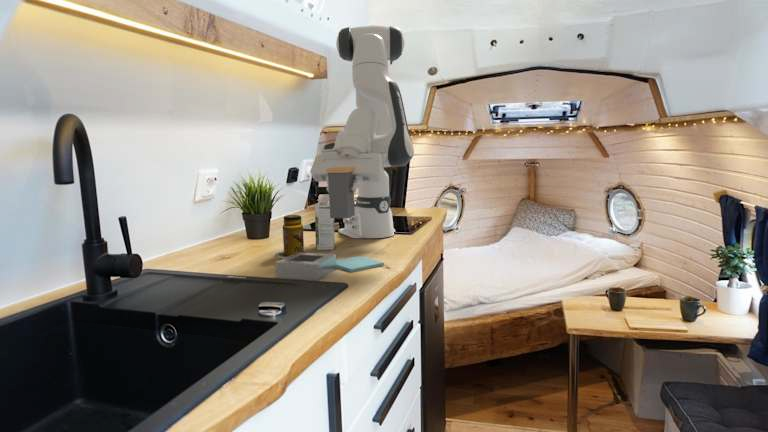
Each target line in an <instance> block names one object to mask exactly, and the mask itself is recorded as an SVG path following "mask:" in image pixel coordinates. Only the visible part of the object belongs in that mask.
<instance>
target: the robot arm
mask: <svg viewBox="0 0 768 432" xmlns="http://www.w3.org/2000/svg"><path fill="white" fill-rule="evenodd" d="M335 41H336V43H335V44H336V51H337V53H338V54H339V55H338V56H339V57H340V59H342V60H344V61H345V62H346V61H348V62H352V65H351V66H352V76H351V77H352V85H353V87H354V89H355V105H356V106H355V107H356V108H355V109H353V110H352V111H351V112H350V114H349V116H348V117H347V120H346V123H345V125H344V127H343V128H341V129H340V130H339V131H338V133H337V135H336V137H335V141H333V142H330V143H324V144H323V145H321V146H320V153H319V154H318V155H317V156H316V157H315V159H314V161H313V162H312V163H313V164H312V165H311V168H310V175H311V177H312V179H313V180H314V182H317V183H318V182H319V183H320V182H326V184H327V185H326V192H327V193H328V194H329V182H328V173H326V169H329V168H335V167H355V168H354V171H352V175H353V184H350V187H349V191H350V193H354V194H356V193H357V194H358V196H357V197H354V202H355V204H354V208H355V216H352V217H350V218H344V228H343V227H342V228H339V229H338V231H337V232H338V233H340V234H342V235H344V236H347V237H349V238H352V239H382V238H389V237H393V236H394V235H395V233H396V229H395V228H394V221H393V212H392V209H391V208H390V206H391V201H392V199H391V196H390V177H389V173H388V172H387V171H386V170H384V169H385V168H390V167H391V168H392V167H395V168H396V167H398V168H399V167H405V166H407V164H409V162H411V160H412V159H413V156H414V153H415V152H414V151H415V150H414V145H413V141H412V137H411V134H410V131H409V127H408V120H407V117H406V112H405V106H404V105H405V104H404V102H403V97H402V93H401V90H400V87H399V85H398V84H397V82H396V81H394V80H392V79H391V77H390V75H389V65H393V62H394V61H397V60H398V59H400V58H401V56H402V55H403V51H404V49H405V37H404V35H403V33H402V30H401V29H400V27H398V26H393V25H390V26H386V25H385V26H384V25H373V24H372V25H365V26H356V27H355V26H354V27H351V26H348V27H344V28H341V29H340V30H339V32H338V35H337V37H336V40H335ZM357 191H358V192H357ZM394 232H395V233H394Z"/></svg>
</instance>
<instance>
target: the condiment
mask: <svg viewBox="0 0 768 432" xmlns="http://www.w3.org/2000/svg"><path fill="white" fill-rule="evenodd" d="M282 235H283V236H282V238H283V239H282V241H283V242H282V243H283V252H275V255H276V256H277V258H278V259H284V258H286V257H288V256H290V255H292V254H294V253H297V252H302V253H305V247H304V246H305V243H304V225H303V224H302V216H301V215H299V214H290V215H289V214H288V215H285V216H283V226H282Z"/></svg>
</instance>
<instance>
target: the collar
mask: <svg viewBox="0 0 768 432" xmlns="http://www.w3.org/2000/svg"><path fill="white" fill-rule="evenodd" d="M336 260H337V254H334V253H318V252H317V253H315V252H304V253H302V252H297V253H294V254H292V255H290V256H288V257H286V258H281V259H280V260H278V261H275V269H276V278H282V279H293V280H294V279H295V280H306V281H307V280H309V281H320V280H321V279H323V278H325V277H326V276H328V275H329V274H331V273H333V272H334V271H336V270H337V267H336Z"/></svg>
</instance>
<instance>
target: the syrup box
mask: <svg viewBox="0 0 768 432" xmlns="http://www.w3.org/2000/svg"><path fill="white" fill-rule="evenodd" d="M314 217H315V218H314V219H315V220H314V221H315V224H314V225H315V228H314V229H315V231H314V232H315V250H316V251H328V250H329V251H331V250H334V249H335V245H336V243H335V242H336V239H335V238H336V237H335V236H336V235H335V233H336V231H335V228H336V227H335V226H336V225H335V218H330V202H326V201H325V202H317V203H316V204H315V205H314Z"/></svg>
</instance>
